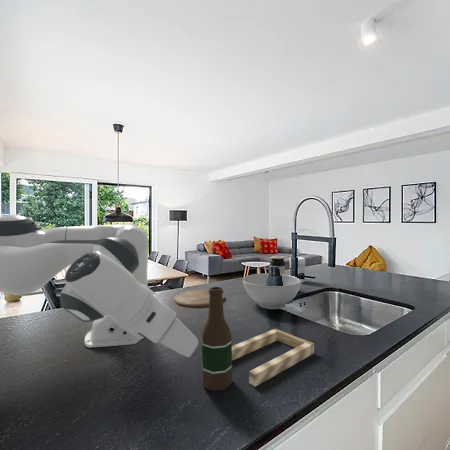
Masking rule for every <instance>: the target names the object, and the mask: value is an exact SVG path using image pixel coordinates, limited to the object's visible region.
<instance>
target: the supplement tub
mask: <svg viewBox="0 0 450 450" xmlns="http://www.w3.org/2000/svg"><path fill="white" fill-rule="evenodd" d="M297 257H298V268H299V273H304V274H305V275H306V258H305V257H301V256H297ZM290 268H291V257H289V269H290ZM306 280H307V279H306V278H305V279H303V280H301V284H302V283H305V282H306Z"/></svg>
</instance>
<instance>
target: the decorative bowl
mask: <svg viewBox="0 0 450 450" xmlns="http://www.w3.org/2000/svg"><path fill="white" fill-rule="evenodd" d="M280 275H281V276H282V281H283V286H266V280H267V278H268V276H269V273H254V274H249V275H246V276H244V277H243V278H242V283H243V287H244V289H245V291H246V293H247V294H248V296H249V297H250V298H251V299H252V300H253V301H254V302H256V304H257V305H258V306H259V307H260V308H263V309H268V310H279V309H280V310H281V309H283V308H285V307H286V305H287V304H288V303H291V301H293V299H294V298H295V297H296V296H297V294H298V293H299V290H300V289H301V285H302V283H301V279H299V278H297V277H295V276H291V275H290V274H286V273H285V274H280Z"/></svg>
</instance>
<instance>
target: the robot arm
mask: <svg viewBox="0 0 450 450" xmlns="http://www.w3.org/2000/svg"><path fill="white" fill-rule="evenodd" d="M40 229H41V230H40ZM148 263H149V236H148V234H147V232H146V231H145V230H144V229H143V228H142V227H140V226H138V225H136V224H130V223H127V224H103V225H84V226H83V225H82V226H81V225H79V226H78V225H77V226H75V225H74V226H59V227H58V226H57V227H50V228H45V229H43V228H42V226H41V225H39V224H37V223H36V222H35V221H34V220H33V219H31V218H29V217H27V216H24V215H18V214H7V215H2V216H0V292H1V293H3V294H7V295H13V296H23V295H28V294H32V293H35V292H37V291H38V290H40V289H41V288H43V287H45V285H46V284H48V283H49V282H50V281H51V280H52V279H53V278H55V277H56V275H58V274H60V272H62V271H63V270H65V269H67V268H68V267H69V268H68V269H67V271H66V273H65V275H64V282H65V285H64V287H63V288H62V290H61V292H60V294H59V298H60V299H59V301H60V304H61V308H62V309H63V310H64V311H66V312H68V313H70V314H71V315H72V316H74V317H75V318H77V319H78V320H79V321H82V322H84V323H91V322H92V326H91V330H89V331H88V332H87V333H86V335H85V336H84V341H83V343H84V346H85V347H87V348H101V347H102V348H103V347H114V346H116V347H117V346H128V345H136V344H138V343H139V342H140V341H141V340H143V339H146V340H148V341H150V342H151V343H153V344H157V343H160V344H161V345H163V346H165V347H166V348H169V349H170V350H172V351H173V352H176V353H177V354H179V355H181V356H183V357H186V358H191V357H192V355H193V354H194V352H195V351H196V349H197V348H198V346H199V343H200V341H199V339H198V338H197V336H196V335H195V334H194V332H192V331H191V330H190V329H189V328H188V327H187V326H186V325H185V324H184V323H183V322H182V321H181V320H180V319H179V318H177V313H176V311H175V310H173V309H172V308H171V307H170V306H168V304H166V303H165V301H164V300H163V298H161V297H160V296H159V295H158V294H156V293H155V292H154V291H153V290H152V289H150V288H149V287H148Z"/></svg>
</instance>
